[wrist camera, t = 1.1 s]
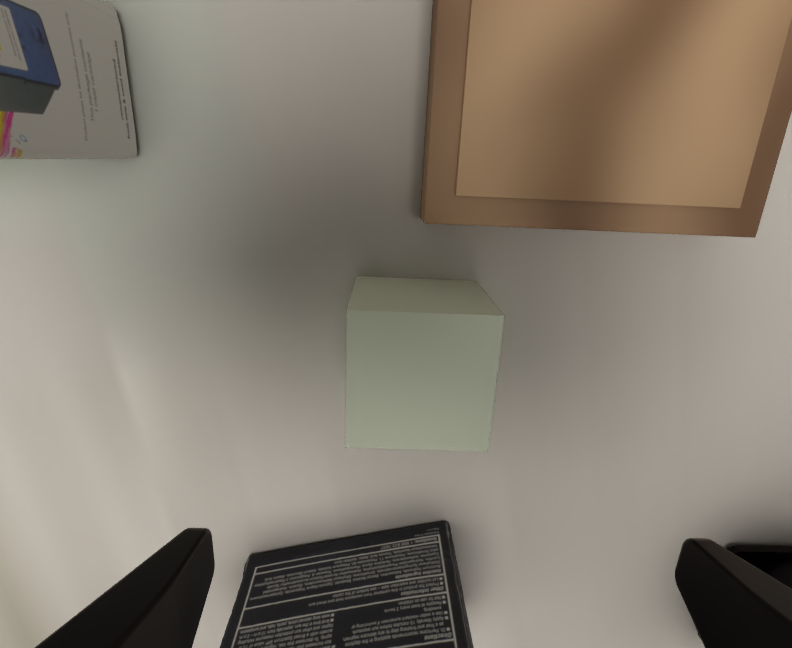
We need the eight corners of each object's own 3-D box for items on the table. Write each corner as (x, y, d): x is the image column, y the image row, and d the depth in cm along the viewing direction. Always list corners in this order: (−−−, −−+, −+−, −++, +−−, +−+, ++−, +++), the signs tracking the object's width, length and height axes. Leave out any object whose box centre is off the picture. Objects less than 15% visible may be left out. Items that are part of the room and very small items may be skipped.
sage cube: (475, 280, 19) (504, 315, 15) (464, 388, 21) (487, 451, 16) (356, 275, 19) (346, 309, 14) (354, 384, 21) (345, 447, 16)
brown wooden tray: (791, -69, 16) (860, -111, 13) (714, 230, 19) (759, 238, 16) (438, -92, 15) (447, -139, 13) (420, 217, 18) (424, 223, 16)
